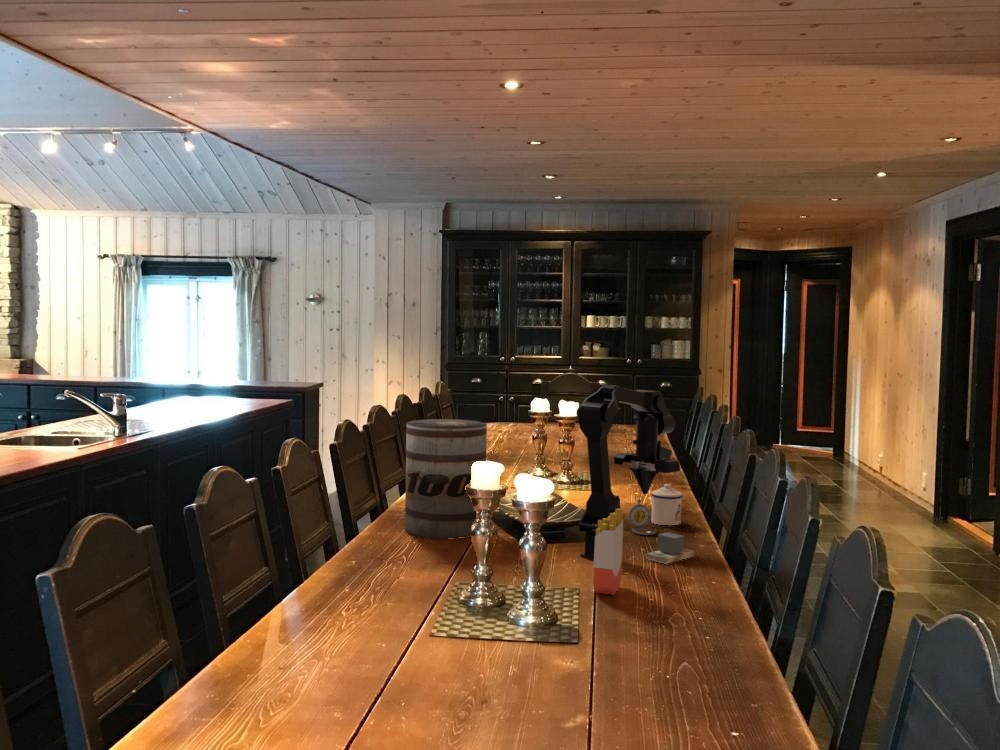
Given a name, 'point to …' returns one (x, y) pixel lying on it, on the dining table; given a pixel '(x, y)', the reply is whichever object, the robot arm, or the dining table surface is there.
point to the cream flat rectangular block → (669, 556)
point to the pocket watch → (637, 514)
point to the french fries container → (608, 554)
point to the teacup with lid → (666, 506)
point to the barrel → (441, 476)
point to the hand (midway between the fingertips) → (645, 493)
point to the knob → (670, 543)
